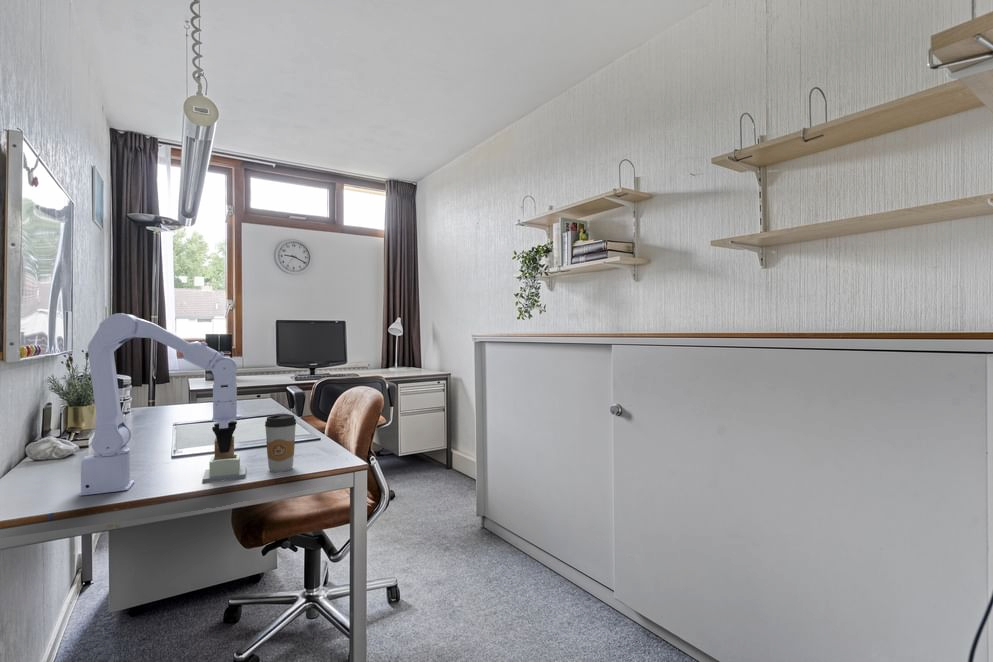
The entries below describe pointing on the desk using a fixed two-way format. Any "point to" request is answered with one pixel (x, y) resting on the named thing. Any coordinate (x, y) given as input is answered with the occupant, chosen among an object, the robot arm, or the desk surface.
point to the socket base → (225, 477)
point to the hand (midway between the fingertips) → (225, 450)
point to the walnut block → (226, 454)
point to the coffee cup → (280, 442)
